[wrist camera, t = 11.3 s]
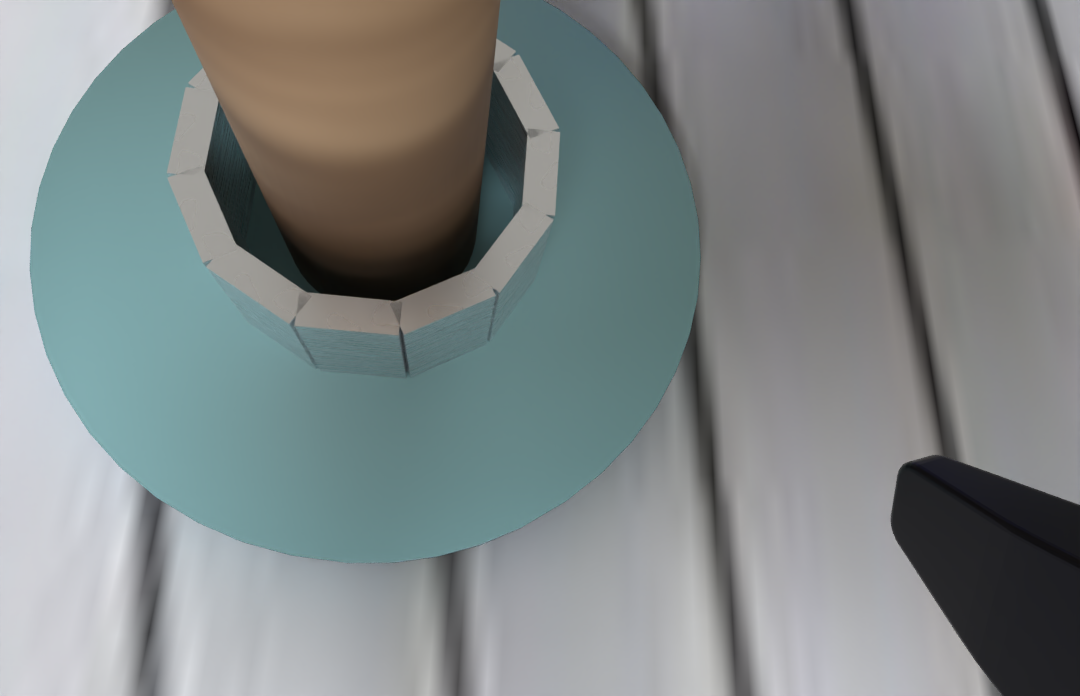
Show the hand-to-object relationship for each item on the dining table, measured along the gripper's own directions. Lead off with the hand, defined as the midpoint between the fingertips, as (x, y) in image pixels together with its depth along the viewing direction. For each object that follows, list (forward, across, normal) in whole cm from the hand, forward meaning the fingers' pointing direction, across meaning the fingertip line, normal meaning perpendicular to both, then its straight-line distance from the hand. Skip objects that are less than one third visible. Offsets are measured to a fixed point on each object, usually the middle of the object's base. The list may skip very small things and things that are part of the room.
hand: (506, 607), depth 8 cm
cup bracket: (+12, 0, +1) cm, 12 cm away
